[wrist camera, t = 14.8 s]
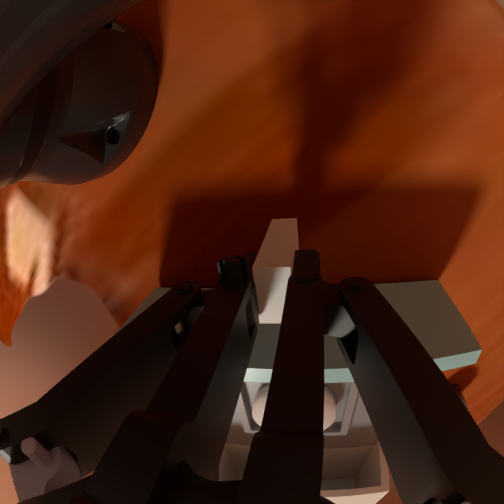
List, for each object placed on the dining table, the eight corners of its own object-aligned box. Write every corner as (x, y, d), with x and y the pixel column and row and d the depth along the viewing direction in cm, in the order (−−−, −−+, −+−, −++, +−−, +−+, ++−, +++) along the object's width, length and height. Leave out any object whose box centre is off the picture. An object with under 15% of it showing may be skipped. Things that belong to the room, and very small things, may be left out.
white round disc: (250, 375, 24) (246, 392, 22) (338, 376, 22) (339, 393, 20) (259, 419, 27) (256, 434, 25) (331, 421, 25) (331, 435, 23)
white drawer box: (213, 426, 34) (192, 483, 25) (384, 428, 28) (389, 490, 20) (236, 472, 41) (224, 512, 32) (359, 474, 36) (358, 517, 27)
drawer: (155, 287, 24) (103, 348, 16) (437, 279, 19) (482, 349, 11) (211, 428, 33) (193, 477, 26) (385, 431, 28) (390, 484, 20)
